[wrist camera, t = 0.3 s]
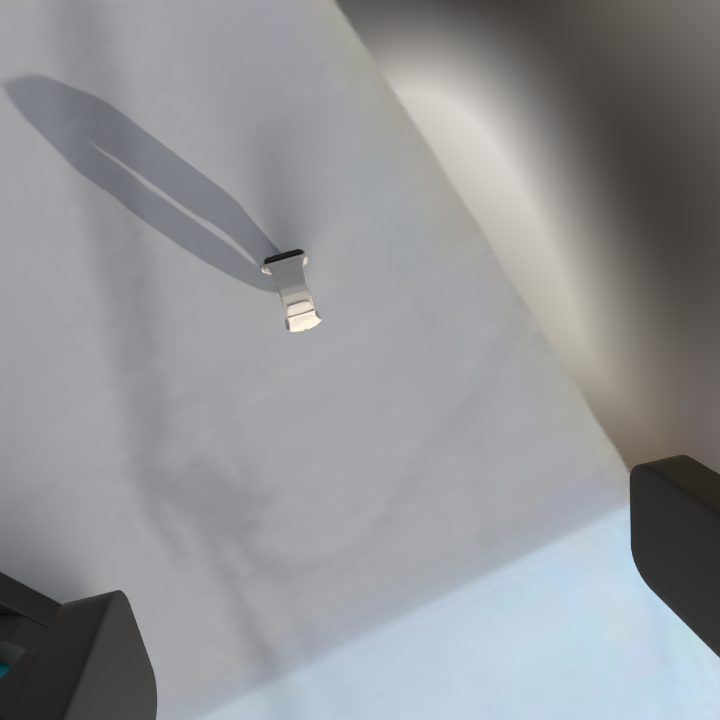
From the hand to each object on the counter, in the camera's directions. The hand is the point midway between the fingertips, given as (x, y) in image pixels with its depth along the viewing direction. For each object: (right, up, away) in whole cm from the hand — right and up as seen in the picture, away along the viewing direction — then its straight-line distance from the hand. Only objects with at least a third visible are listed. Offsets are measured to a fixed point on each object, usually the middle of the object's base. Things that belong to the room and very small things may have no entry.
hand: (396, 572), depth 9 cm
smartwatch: (-4, +7, +19) cm, 21 cm away
